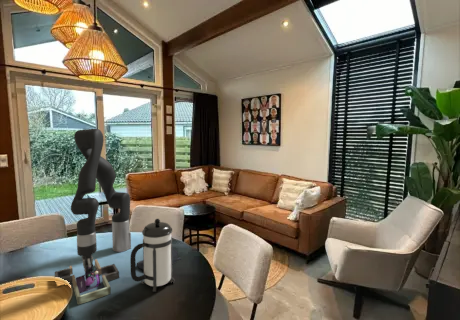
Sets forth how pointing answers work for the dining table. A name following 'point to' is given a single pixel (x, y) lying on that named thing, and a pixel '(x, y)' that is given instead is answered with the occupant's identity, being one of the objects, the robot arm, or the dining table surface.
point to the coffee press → (155, 255)
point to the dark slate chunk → (174, 259)
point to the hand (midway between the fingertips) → (88, 279)
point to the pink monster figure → (87, 281)
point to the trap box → (107, 275)
